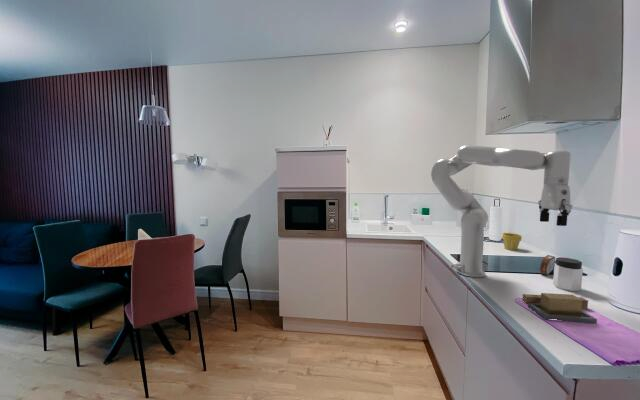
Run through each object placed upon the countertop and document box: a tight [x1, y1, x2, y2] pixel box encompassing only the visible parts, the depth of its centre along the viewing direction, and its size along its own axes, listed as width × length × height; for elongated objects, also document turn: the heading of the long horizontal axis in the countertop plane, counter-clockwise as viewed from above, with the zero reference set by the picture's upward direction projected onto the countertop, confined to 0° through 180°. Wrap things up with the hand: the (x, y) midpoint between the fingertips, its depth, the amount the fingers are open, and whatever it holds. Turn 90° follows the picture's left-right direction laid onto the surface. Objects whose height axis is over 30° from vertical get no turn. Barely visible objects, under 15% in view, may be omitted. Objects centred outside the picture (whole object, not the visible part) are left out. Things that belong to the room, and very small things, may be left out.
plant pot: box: [501, 232, 523, 251], centre depth 174 cm, size 10×10×10 cm
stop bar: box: [540, 292, 583, 317], centre depth 91 cm, size 4×10×6 cm, turn 82°
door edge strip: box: [521, 293, 589, 309], centre depth 97 cm, size 20×2×3 cm, turn 82°
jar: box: [552, 256, 584, 292], centre depth 113 cm, size 9×8×12 cm
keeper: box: [527, 303, 598, 324], centre depth 91 cm, size 15×9×2 cm, turn 82°
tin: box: [539, 254, 556, 276], centre depth 130 cm, size 15×3×8 cm, turn 127°
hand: (552, 223), depth 108 cm, fingers open, 9 cm apart
